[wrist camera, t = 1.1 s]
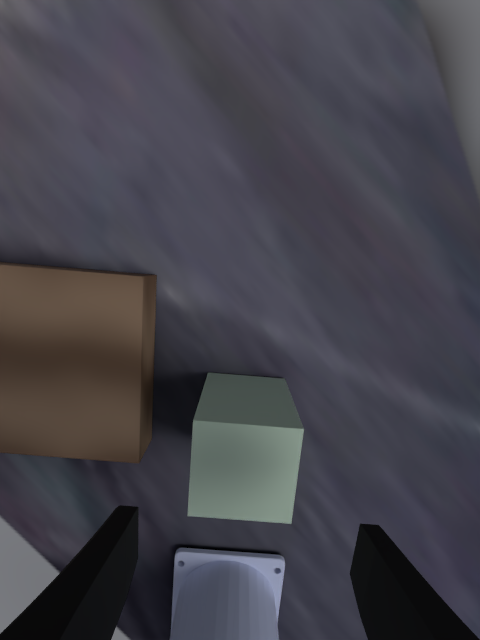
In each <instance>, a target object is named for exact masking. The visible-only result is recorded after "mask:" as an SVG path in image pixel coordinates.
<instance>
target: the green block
mask: <svg viewBox="0 0 480 640" xmlns="http://www.w3.org/2000/svg"><path fill="white" fill-rule="evenodd" d="M303 431H304V428H303V426H302V423H301V420H300V418H299V415H298V412H297V410H296V407H295V405H294V402H293V399H292V397H291V394H290V391H289V389H288V386H287V383H286V381H285V379H283V378H270V377H258V376H245V375H233V374H220V373H208V374H207V378H206V381H205V384H204V387H203V390H202V394H201V397H200V400H199V403H198V406H197V410H196V413H195V416H194V419H193V432H192V449H191V466H190V484H189V501H188V516H196V517H209V518H222V519H236V520H249V521H262V522H276V523H289V524H291V521H292V514H293V506H294V499H295V491H296V484H297V476H298V469H299V461H300V454H301V446H302V439H303Z"/></svg>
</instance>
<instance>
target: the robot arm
mask: <svg viewBox="0 0 480 640" xmlns="http://www.w3.org/2000/svg"><path fill="white" fill-rule="evenodd" d="M137 559H138V507H133V506H118V507H117V508H116V509H115V510H114V511H113V513H112V514H111V515H110V516H109V518H108V519H107V520H106V521H105V522H104V524H103V525H102V526H101V527H100V528H99V530H98V531H97V532H96V533H95V534H94V536H93V537H92V538H91V539H90V540H89V541H88V542H87V544H86V545H85V546H84V547H83V548H82V549H81V551H80V552H79V553H78V554H77V555H76V556H75V557H74V558H73V559H72V560H71V562H70V563H69V564H68V565H67V566H66V567H65V568H64V569H63V570H62V572H61V573H60V574H59V575H58V576H57V577H56V578H55V579H54V580H53V581H52V582H51V583H50V584H49V585H48V587H46V588H45V590H44V591H43V592H42V593H41V594H40V595H39V596H38V597H37V598H36V599H35V600H34V601H33V602H32V603H31V604H30V605H29V606H28V607H27V608H26V609H25V610H24V611H23V612H22V613H21V614H20V615H19V616H18V617H17V618H16V619H15V620H14V621H13V622H12V623H11V624H10V625H9V626H8V627H7V628H6V629H5V630H4V631H3V632H2V633H1V634H0V640H111V638H112V636H113V633H114V630H115V628H116V625H117V622H118V620H119V617H120V614H121V612H122V609H123V606H124V604H125V601H126V598H127V595H128V591H129V588H130V584H131V581H132V577H133V574H134V570H135V567H136V563H137ZM284 569H285V561H284V558H283V557H282V556H281V555H275V554H262V553H248V552H235V551H222V550H208V549H195V548H179V549H177V550H176V553H175V559H174V579H173V599H172V619H171V635H170V640H279V636H278V626H277V621H278V614H279V606H280V599H281V591H282V584H283V576H284ZM350 576H351V580H352V585H353V589H354V593H355V597H356V601H357V605H358V609H359V613H360V617H361V620H362V623H363V626H364V629H365V632H366V635H367V638H368V640H479V638H478V637H477V636H476V635H475V634H474V633H473V632H472V631H471V630H470V629H469V628H468V627H467V626H466V625H465V624H464V623H463V622H462V620H461V619H460V618H459V617H458V616H457V615H456V614H455V613H454V612H453V611H452V609H451V608H450V607H449V606H448V605H447V604H446V603H445V602H444V601H443V599H442V598H441V597H440V596H439V595H438V594H437V593H436V592H435V590H434V589H433V588H432V587H431V586H430V585H429V584H428V582H427V581H426V580H425V579H424V578H423V577H422V575H421V574H420V573H419V572H418V571H417V570H416V568H415V567H414V566H413V565H412V564H411V563H410V561H409V560H408V559H407V558H406V557H405V555H404V554H403V553H402V552H401V551H400V550H399V548H398V547H397V546H396V545H395V544H394V542H393V541H392V540H391V539H390V538H389V536H388V535H387V534H386V533H385V532H384V530H383V529H382V528H381V527H380V526H379V525H371V524H360V527H359V532H358V537H357V541H356V546H355V551H354V556H353V561H352V566H351V570H350Z"/></svg>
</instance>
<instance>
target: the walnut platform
mask: <svg viewBox="0 0 480 640" xmlns="http://www.w3.org/2000/svg"><path fill="white" fill-rule="evenodd" d="M156 279H157V275H150V274H138V273H126V272H114V271H102V270H90V269H78V268H66V267H54V266H42V265H30V264H18V263H6V262H0V453H11V454H24V455H37V456H50V457H63V458H76V459H89V460H102V461H115V462H128V463H139V462H140V461H141V459H142V457H143V455H144V453H145V451H146V449H147V447H148V445H149V443H150V441H151V439H152V413H153V379H154V346H155V313H156Z"/></svg>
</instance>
